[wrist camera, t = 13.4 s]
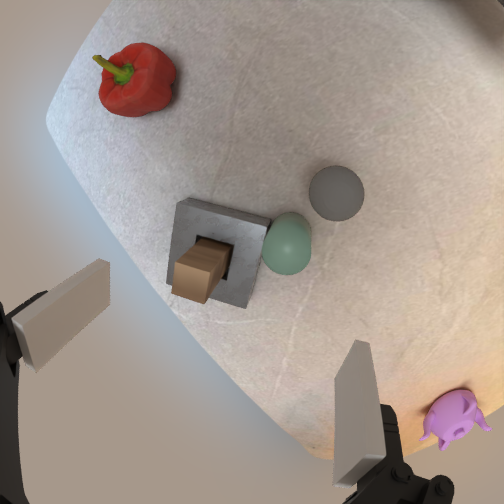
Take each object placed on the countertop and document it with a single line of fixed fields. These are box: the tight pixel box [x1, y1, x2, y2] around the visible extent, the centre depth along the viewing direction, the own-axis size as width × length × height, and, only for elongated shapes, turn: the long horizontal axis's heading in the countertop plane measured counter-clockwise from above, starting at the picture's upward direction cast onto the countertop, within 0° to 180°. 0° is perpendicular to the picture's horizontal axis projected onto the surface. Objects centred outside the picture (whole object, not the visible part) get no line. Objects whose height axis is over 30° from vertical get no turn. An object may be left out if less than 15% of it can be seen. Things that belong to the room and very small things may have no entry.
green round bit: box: [262, 212, 311, 275], centre depth 37 cm, size 6×6×8 cm
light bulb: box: [309, 166, 364, 221], centre depth 33 cm, size 6×6×10 cm
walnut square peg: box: [171, 237, 235, 304], centre depth 38 cm, size 4×4×12 cm
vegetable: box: [92, 43, 176, 117], centre depth 33 cm, size 11×10×10 cm
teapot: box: [419, 390, 492, 451], centre depth 43 cm, size 12×14×9 cm
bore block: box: [166, 198, 271, 309], centre depth 42 cm, size 12×12×4 cm
